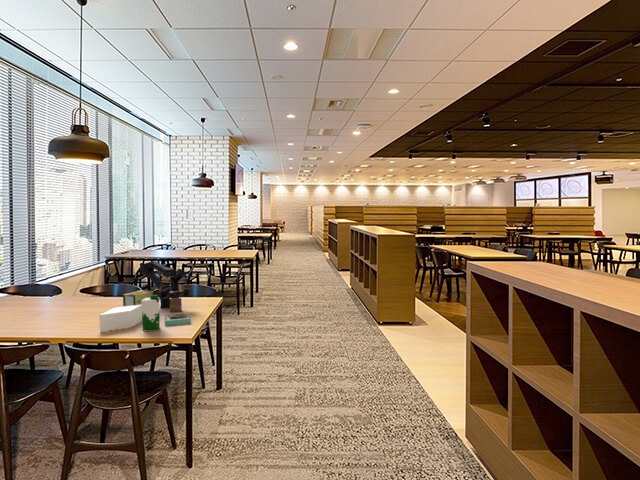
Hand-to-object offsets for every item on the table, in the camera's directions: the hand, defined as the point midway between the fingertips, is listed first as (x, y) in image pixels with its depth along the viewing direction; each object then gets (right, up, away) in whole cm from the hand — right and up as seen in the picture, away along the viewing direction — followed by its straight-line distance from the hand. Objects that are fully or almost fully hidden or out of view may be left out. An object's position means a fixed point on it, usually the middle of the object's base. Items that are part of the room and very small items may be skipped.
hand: (175, 303), depth 265 cm
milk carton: (-2, -9, -34) cm, 36 cm away
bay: (+8, -8, -18) cm, 21 cm away
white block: (-22, -9, -28) cm, 36 cm away
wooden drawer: (+3, -7, -8) cm, 12 cm away
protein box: (-22, -7, -6) cm, 24 cm away
